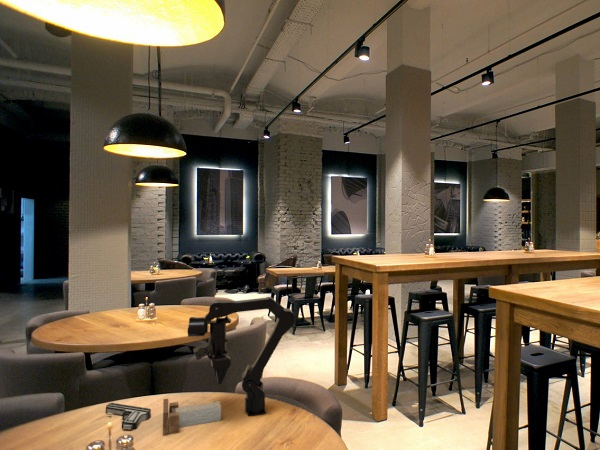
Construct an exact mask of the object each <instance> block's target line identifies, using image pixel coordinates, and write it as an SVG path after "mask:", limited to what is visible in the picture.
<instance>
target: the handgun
mask: <svg viewBox="0 0 600 450" xmlns="http://www.w3.org/2000/svg"><path fill="white" fill-rule="evenodd" d="M151 409H152V408H149V407H142V406H141V407H139V406H136V405H135V406H133V405H127V404H120V403H114V402H109V403H108V404H107V405H106V407H105V414H106V415H107V416H118V417H119V416H120V417H122V419H121V420H122V421H121V430H122V431H123V430H124V431H126V430H127V431H128V430H129V431H130V430H131V431H134V430H137V429H138V428H139V426H140V425H141V423H143V422H145V421H148V420H149V419H150V418H151V416H152V415H151V414H152V410H151Z"/></svg>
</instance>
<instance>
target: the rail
mask: <svg viewBox="0 0 600 450" xmlns="http://www.w3.org/2000/svg"><path fill="white" fill-rule="evenodd" d="M174 412H179V429H180V428H186V427H193V426H198V425H203V424H204V425H205V424H211V423H217V422H221V421H222V405H221V402H220V401H219V400H218V401H213V402H205V403H199V404H192V405H184V406H179V407H178V408H172V413H174Z"/></svg>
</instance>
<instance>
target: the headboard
mask: <svg viewBox="0 0 600 450" xmlns="http://www.w3.org/2000/svg"><path fill="white" fill-rule="evenodd" d="M162 401H163V403H162V405H163V406H162V407H163V408H162V436H168V435H172V434H178V433H180V428H179V412H174V413H172V408H178V407H180V405H179V401H175V402H169V398H163V400H162Z"/></svg>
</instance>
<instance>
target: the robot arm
mask: <svg viewBox="0 0 600 450" xmlns="http://www.w3.org/2000/svg"><path fill="white" fill-rule="evenodd" d="M261 310H269V312H271V314H273V315H274V316H275V317H276V321H275V323H274V327H273V329H272V332H271V333H270V334H269V336H268V339H267V340H266V342H265V344H264V345H263V348H262V349H261V351H260V352H259V354H258V356H257V358H256V360H255V361H254V362H253V363H252V365H250V364H249V363H248V364H247V366H246V368H245V370H244V371H243V372H242V373H241V387H242V390H243V391H244V392H245V393H246V394H245V398H244V410H245V412H246V414H247V416H248V417H251V416H256V415H257V416H258V415H262V414H267V411H266V394H265V390H264V389H265V388H264V382H263V381H262V380H261V379H262V376H263V372H264V371H265V368H266V367H267V364H268V362H269V361H270V359H271V357H272V355H273V354H274V351H275V350H276V348H277V346H278V345H279V343H280V341H281V340H282V338H283V336H284V335H286V334H287V332H288V331H289V330H290V329H291V328H292V327H293V326H294V324H295V322H296V315H295V314H294V312H293V310H291V309H290V308H288V307H284V306H282V305H281V304H280V303H279V302H278V301H276V300H275V299H274V298H273V297H271V296H267V297H261V298H252V299H251V298H250V299H242V300H230V299H215V300H213V301H212V303H211V304H210V306H209V309H208V312H207V313H206V314H205V316H204V317H203V316H202V317H199V316H198V317H197V316H190V317H189V319H188V325H187V326H188V327H187V337H189V338H192V337H193V338H194V337H195V338H196V337H197V338H198V337H205V336H206V334H208V333H209V338H208V339H207V340H208V341H207V342H205V343H203V344H200V345H198V346H196V347H193V349H192V351H193V353H194V356H195V359H196V360H197V361H199V360H202V359H203V358H205V357H206V356H207V358H208V359H210V364H211V368H212V370H213V373H214V376H215V377H216V378H217V379H216V380H217V383H218V385H222V383H223V381H224V379H225V376H226V374H227V373H228V371H229V368H230V367H231V366H232V363H231V358H230V356H228V350H227V343H228V339H227V324H231V323H232V319H231V318H230V317H229V316H230V315H232V314H235V313H243V312H251V311H261ZM214 319H215V320H214Z"/></svg>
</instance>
